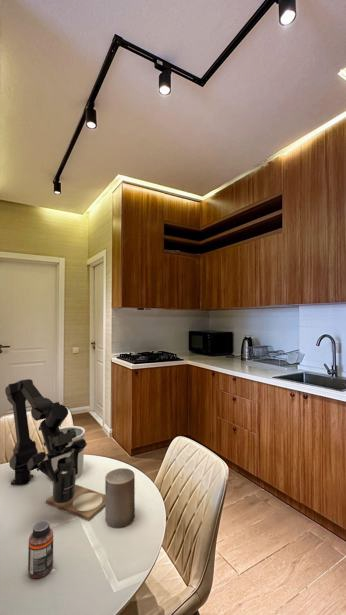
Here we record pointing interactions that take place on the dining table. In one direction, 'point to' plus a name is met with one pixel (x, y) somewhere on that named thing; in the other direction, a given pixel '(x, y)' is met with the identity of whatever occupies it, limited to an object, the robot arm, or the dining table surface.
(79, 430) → the utensil holder
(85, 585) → the dining table surface
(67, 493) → the supplement bottle
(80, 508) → the board
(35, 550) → the supplement bottle
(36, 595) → the dining table surface
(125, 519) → the pillar candle
